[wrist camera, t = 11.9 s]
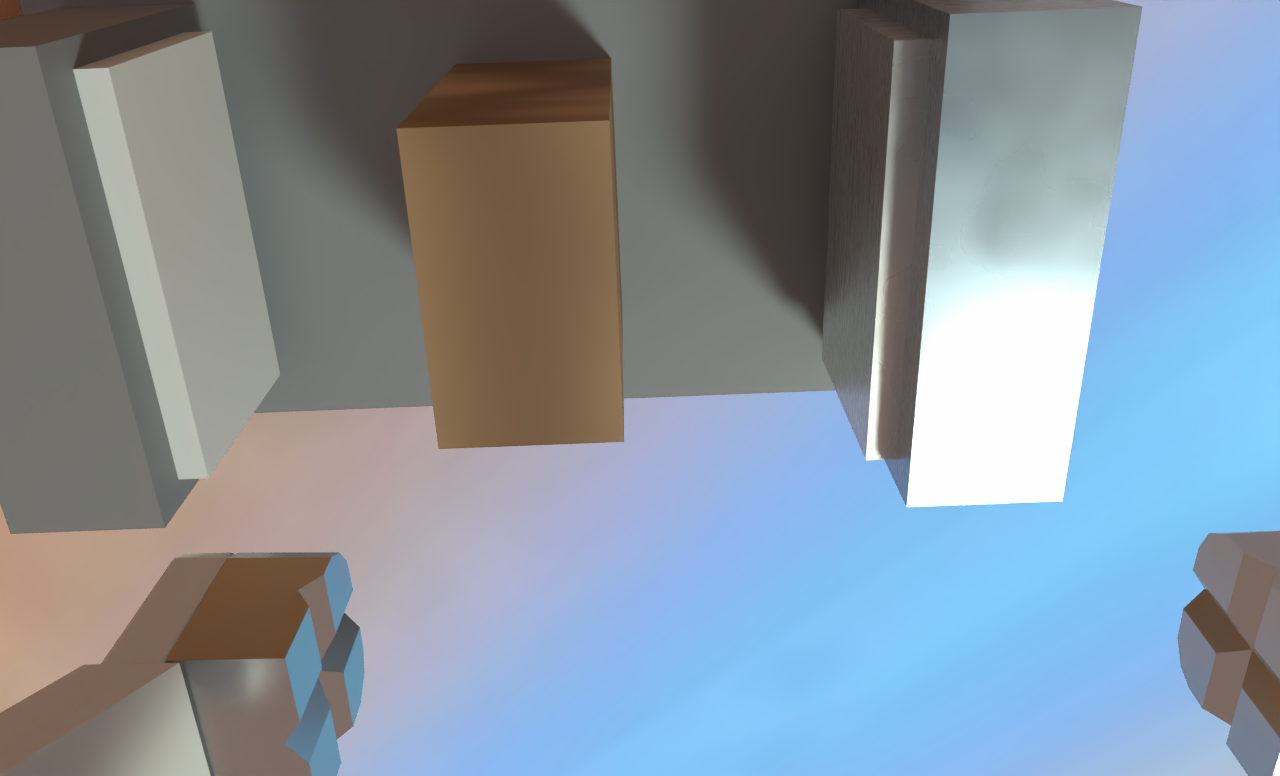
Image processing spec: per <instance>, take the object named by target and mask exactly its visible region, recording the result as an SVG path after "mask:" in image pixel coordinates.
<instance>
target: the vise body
mask: <svg viewBox="0 0 1280 776" xmlns="http://www.w3.org/2000/svg"><path fill="white" fill-rule="evenodd" d="M19 3H20V7H21V11H22V14H23V16H18V17H13V18H9V19H4V20H0V504H1V507H2V510H3V513H4V516H5V519H6V522H7V524H8V527H9V530H10V533H11V534H19V533H44V532H70V531H95V530H121V529H146V528H165V527H166V526H167V524H168V523H169V521H170V520H171V518H172V517H173V516H174V514H175V513H176V511H177V510H178V509H179V507H180V506H181V504H182V503H183V501H184V500H185V499H186V497H187V496H188V494H189V493H190V492H191V490H192V489H193V487H194V486H195V485H196V483H197V482H198V480H199V479H204V478H209V477H210V475H211V474H212V472H213V471H214V469H215V468H216V467H217V465H218V464H219V462H220V461H221V459H222V458H223V456H224V455H225V454H226V452H227V451H228V449H229V448H230V446H231V445H232V443H233V442H234V441H235V439H236V438H237V436H238V435H239V433H240V432H241V431H242V429H243V428H244V426H245V425H246V423H247V422H248V420H249V419H250V418H251V416H252V415H253V413H263V412H289V411H315V410H340V409H366V408H392V407H417V406H433V402H432V394H431V387H430V379H429V371H428V364H427V356H426V349H425V341H424V334H423V326H422V318H421V311H420V303H419V296H418V288H417V281H416V273H415V266H414V258H413V250H412V243H411V235H410V228H409V220H408V213H407V205H406V198H405V190H404V182H403V175H402V167H401V160H400V152H399V145H398V137H397V129H396V128H397V127H398V126H399V125H400V124H401V123H402V122H403V121H404V120H405V119H406V118H407V116H408V115H409V114H410V113H411V112H412V111H413V110H414V109H415V108H416V107H417V106H418V104H419V103H420V102H421V101H422V100H423V99H424V98H425V97H426V96H427V95H428V94H429V92H430V91H431V90H432V89H433V88H434V87H435V86H436V85H437V84H438V83H439V82H440V81H441V79H442V78H443V77H444V76H445V75H446V74H447V73H448V72H449V71H450V70H451V69H452V67H453V66H454V65H455V64H473V63H499V62H525V61H552V60H578V59H605V58H611V61H612V84H613V107H614V129H615V152H616V175H617V198H618V221H619V244H620V267H621V289H622V323H623V398H649V397H674V396H700V395H726V394H751V393H777V392H803V391H828V390H835V388H834V385H833V383H832V381H831V378H830V376H829V374H828V372H827V369H826V367H825V365H824V362H823V360H822V344H823V321H824V299H825V277H826V254H827V232H828V209H829V187H830V164H831V142H832V119H833V97H834V75H835V52H836V30H837V9H856V0H19Z"/></svg>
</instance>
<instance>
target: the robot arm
mask: <svg viewBox="0 0 1280 776" xmlns="http://www.w3.org/2000/svg"><path fill="white" fill-rule="evenodd" d="M1193 571H1194V573H1195V574H1196V576H1197V577H1198V579H1199V581H1200V582H1201V584H1202V585H1203V587H1204V590H1203V591H1202V592H1201V593H1200V594H1199V595H1197V596H1196V597H1195V598H1194V599H1193V600H1192V601H1191V602H1190V603H1189V604H1188V605H1187V606H1186V607H1185V608H1184V609H1183V613H1182V618H1181V623H1180V629H1179V634H1178V645H1179V654H1180V663H1181V668H1182V671H1183V673H1184V676H1185V679H1186V681H1187V684H1188V687H1189V689H1190V690H1191V692H1192V693H1193V695H1194V696H1195V698H1196V699H1197V701H1198V702H1199V704H1200V705H1201V707H1202V708H1203V709H1205V710H1207V711H1208V712H1210V713H1212V714H1213V715H1215V716H1217V717H1218V718H1220V719H1222V720H1223V721H1225V722H1227V723H1228V724H1230V725H1231V728H1230V731H1229V735H1228V739H1227V743H1226V744H1227V745H1228V747H1229V748H1230V750H1231V751H1232V753H1233V754H1234V756H1235V757H1236V758H1237V760H1238V761H1239V763H1240V764H1241V766H1242V767H1243V769H1244V770H1245V772H1246V773H1247V774H1248V776H1280V531H1257V532H1231V533H1209V534H1208V535H1207V537H1206V538H1205V540H1204V541H1203V542H1202V544H1201V545H1200V547H1199V549H1198V553H1197V557H1196V560H1195V564H1194V568H1193ZM352 591H353V588H352V583H351V578H350V574H349V569H348V565H347V561H346V560H345V558H344V557H343V556H342V555H341V554H340V553H339V552H337V553H237V554H233V553H201V554H185V555H182V556H180V557H177V558H175V559H174V560H173V561H172V562H171V563H170V565H169V566H168V568H167V569H166V571H165V572H164V573H163V575H162V576H161V578H160V579H159V581H158V582H157V584H156V585H155V586H154V588H153V589H152V591H151V592H150V594H149V595H148V597H147V598H146V600H145V601H144V602H143V604H142V605H141V607H140V608H139V610H138V611H137V613H136V614H135V615H134V617H133V618H132V620H131V621H130V623H129V624H128V626H127V627H126V628H125V630H124V631H123V633H122V634H121V636H120V637H119V639H118V640H117V641H116V643H115V644H114V646H113V647H112V649H111V650H110V652H109V653H108V655H107V656H106V657H105V659H104V660H103V662H102V663H101V664H94V665H83V666H81V667H79V668H78V669H76V670H74V671H72V672H71V673H69V674H67V675H65V676H64V677H62V678H60V679H58V680H57V681H55V682H53V683H52V684H50V685H48V686H46V687H45V688H43V689H41V690H39V691H38V692H36V693H34V694H32V695H31V696H29V697H27V698H26V699H24V700H22V701H20V702H19V703H17V704H15V705H13V706H12V707H10V708H8V709H6V710H5V711H3V712H1V713H0V776H337V773H338V770H339V767H340V764H341V760H340V755H339V750H338V744H337V739H338V738H339V737H340V736H342V735H343V734H344V733H345V732H347V731H348V730H349V729H350V728H352V727H353V725H354V722H355V719H356V716H357V713H358V709H359V706H360V703H361V695H362V687H363V679H364V654H363V644H362V638H361V632H360V627H359V626H358V625H357V624H356V623H355V622H353V621H352V620H351V619H350V618H349V617H348V616H347V615H346V614H345V613H344V611H345V609H346V606H347V604H348V601H349V598H350V596H351V593H352Z"/></svg>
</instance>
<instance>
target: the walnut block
mask: <svg viewBox="0 0 1280 776" xmlns="http://www.w3.org/2000/svg"><path fill="white" fill-rule="evenodd" d="M396 129H397V137H398V145H399V152H400V160H401V167H402V175H403V182H404V190H405V198H406V205H407V213H408V220H409V228H410V235H411V243H412V250H413V258H414V266H415V273H416V281H417V288H418V296H419V303H420V311H421V318H422V326H423V334H424V341H425V349H426V356H427V364H428V371H429V379H430V387H431V394H432V402H433V409H434V417H435V424H436V432H437V439H438V447H439V449H450V448H475V447H501V446H527V445H552V444H578V443H603V442H624V404H623V323H622V289H621V267H620V244H619V221H618V198H617V175H616V152H615V129H614V107H613V84H612V61H611V58H605V59H578V60H552V61H525V62H499V63H473V64H455V65H454V66H453V67H452V69H451V70H450V71H449V72H448V73H447V74H446V75H445V76H444V77H443V78H442V79H441V81H440V82H439V83H438V84H437V85H436V86H435V87H434V88H433V89H432V90H431V91H430V92H429V94H428V95H427V96H426V97H425V98H424V99H423V100H422V101H421V102H420V103H419V104H418V106H417V107H416V108H415V109H414V110H413V111H412V112H411V113H410V114H409V115H408V116H407V118H406V119H405V120H404V121H403V122H402V123H401V124H400V125H399V126H398V127H397V128H396Z"/></svg>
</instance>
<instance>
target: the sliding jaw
mask: <svg viewBox="0 0 1280 776" xmlns="http://www.w3.org/2000/svg"><path fill="white" fill-rule="evenodd" d="M1141 12H1142V7H1141V6H1136V5H1132V4H1127V3H1123V2H1119V1H1114V0H856V9H837V30H836V52H835V75H834V97H833V119H832V142H831V164H830V187H829V209H828V232H827V254H826V277H825V299H824V321H823V344H822V360H823V362H824V365H825V367H826V369H827V372H828V374H829V376H830V378H831V381H832V383H833V385H834V388H835V390H836V392H837V395H838V397H839V399H840V401H841V404H842V406H843V408H844V411H845V413H846V415H847V418H848V420H849V422H850V424H851V427H852V429H853V431H854V434H855V436H856V438H857V441H858V443H859V445H860V447H861V450H862V452H863V454H864V457H865V459H866V460H880V459H884V460H885V462H886V464H887V466H888V468H889V470H890V472H891V475H892V477H893V479H894V481H895V483H896V485H897V487H898V490H899V492H900V494H901V496H902V498H903V500H904V502H905V504H906V507H918V506H944V505H969V504H995V503H1020V502H1046V501H1062V498H1063V492H1064V486H1065V479H1066V473H1067V467H1068V461H1069V455H1070V449H1071V443H1072V436H1073V430H1074V424H1075V418H1076V412H1077V406H1078V399H1079V393H1080V387H1081V381H1082V375H1083V369H1084V363H1085V356H1086V350H1087V344H1088V338H1089V332H1090V326H1091V319H1092V313H1093V307H1094V301H1095V295H1096V289H1097V282H1098V276H1099V270H1100V264H1101V258H1102V252H1103V246H1104V239H1105V233H1106V227H1107V221H1108V215H1109V209H1110V202H1111V196H1112V190H1113V184H1114V178H1115V172H1116V165H1117V159H1118V153H1119V147H1120V141H1121V135H1122V129H1123V122H1124V116H1125V110H1126V104H1127V98H1128V92H1129V85H1130V79H1131V73H1132V67H1133V61H1134V55H1135V49H1136V42H1137V36H1138V30H1139V24H1140V18H1141Z"/></svg>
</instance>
